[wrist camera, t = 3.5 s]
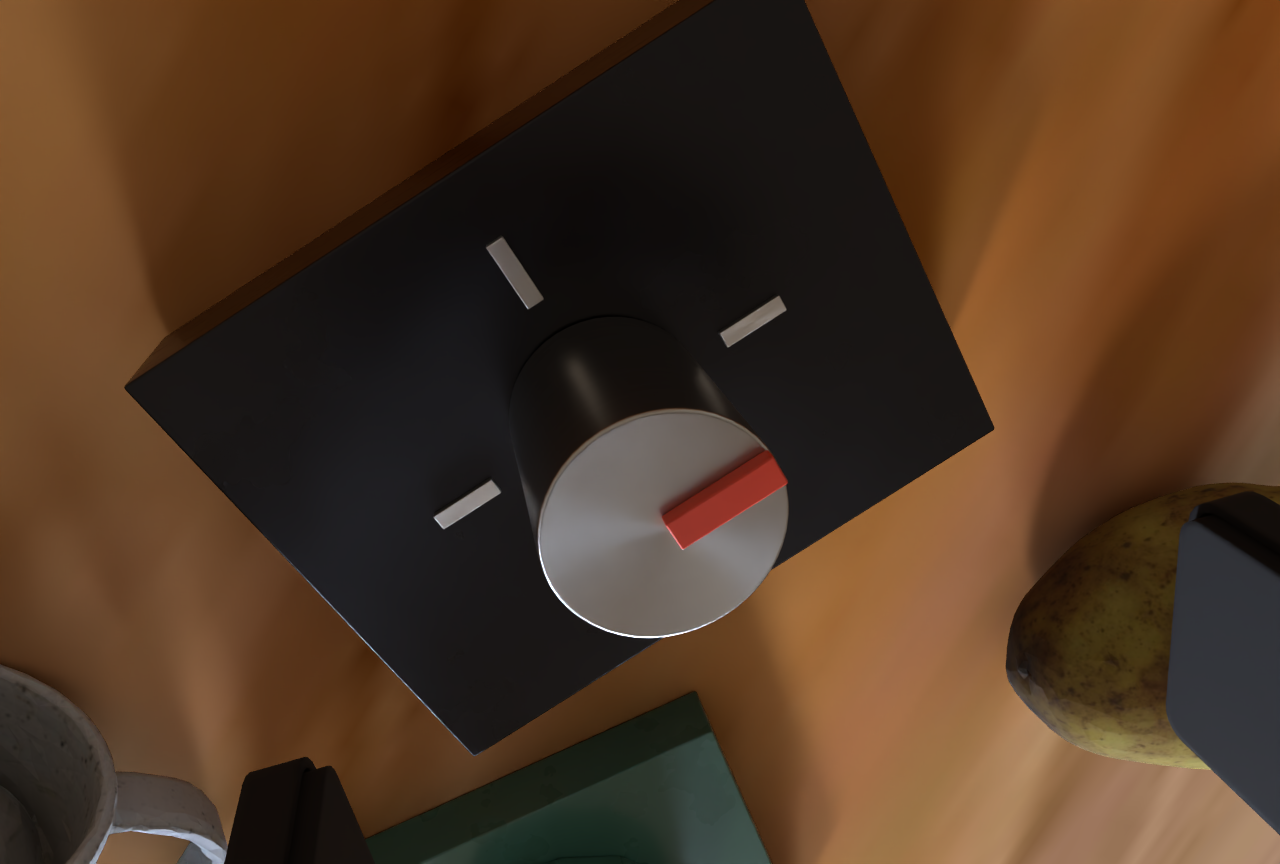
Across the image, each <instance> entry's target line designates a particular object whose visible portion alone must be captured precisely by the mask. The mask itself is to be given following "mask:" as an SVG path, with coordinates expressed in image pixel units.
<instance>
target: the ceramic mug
mask: <svg viewBox="0 0 1280 864" xmlns="http://www.w3.org/2000/svg"><path fill="white" fill-rule="evenodd" d="M126 831H137V832H144V833H150V834H157V835H167V836H173V837H178V838H182V839H186V840H189V841H191V842H190V843H189V845H188V846H187V848H186V850H185V851H184V853H183V854H182V856H181V857H180V859H179V861H178V862H177V864H224V861H225V857H226V853H227V848H228V846H227V842H226V839H225V836H224V832H223V829H222V826H221V822H220V819H219V815H218V812H217V809H216V807H215V805H214V804H213V803H212V802H211V801H210V800H209V798H208V797H207V796H206V795H205V794H204V793H203V791H202V790H200V789H198V788H196V787H195V786H193V785H192V784H191V783H189V782H187V781H183V780H180V779H177V778H172V777H166V776H160V775H152V774H145V773H138V772H115V768H114V764H113V759H112V756H111V753H110V751H109V749H108V746H107V744H106V742H105V740H104V738H103V737H102V735H101V734H100V732H99V730H98V729H97V727H96V726H95V725H94V723H93V722H92V720H91V719H90V718H89V717H88V716H87V715H86V714H85V713H84V712H83V711H82V710H81V709H80V708H79V707H77V706H76V705H75V704H74V703H72V702H71V701H70V700H69V699H68V698H66V697H65V696H64V695H63V694H61V693H60V692H59V691H58V690H56V689H54V688H52V687H50V686H48V685H46V684H44V683H42V682H40V681H38V680H37V679H35V678H33V677H31V676H29V675H27V674H25V673H22V672H20V671H17V670H14V669H12V668H9V667H6V666H3V665H0V864H96V862H97V860H98V858H99V855H100V853H101V851H102V849H103V847H104V845H105V843H106V840H107V837H108V835H110V834H114V833H120V832H126Z"/></svg>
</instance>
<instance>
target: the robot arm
mask: <svg viewBox="0 0 1280 864" xmlns="http://www.w3.org/2000/svg"><path fill="white" fill-rule="evenodd" d="M1166 713H1167V717H1168V720H1169V722H1170V725H1171V727H1172V729H1173V730H1174V732H1175V733H1176V735H1177V736H1178V737H1179V739H1180V740H1181V741H1182V742H1183V743H1184V744H1185V745H1186V746H1187V747H1188V748H1189V749H1190V750H1191V751H1193V752H1194V753H1195V754H1196V755H1197V756H1198V757H1199V758H1200V759H1201V760H1202V761H1203V762H1204V763H1205V764H1206V765H1207V766H1208V767H1209V768H1210V769H1211V770H1212V771H1213V772H1214V773H1215V774H1217V775H1218V776H1219V777H1220V778H1221V779H1222V780H1223V781H1224V782H1225V783H1226V784H1227V785H1228V786H1229V787H1230V788H1231V789H1232V790H1233V791H1234V792H1235V793H1236V794H1237V795H1238V796H1239V797H1241V798H1242V799H1243V800H1244V801H1245V802H1246V803H1247V804H1248V805H1249V806H1250V807H1251V808H1252V809H1253V810H1254V811H1255V812H1256V813H1257V814H1258V815H1259V816H1260V817H1261V818H1262V819H1263V820H1265V821H1266V822H1267V823H1268V824H1269V825H1270V826H1271V827H1272V828H1273V829H1274V830H1275V831H1276V832H1277V833H1278V834H1279V835H1280V505H1279V504H1278V503H1276V502H1274V501H1272V500H1271V499H1269V498H1267V497H1265V496H1264V495H1261V494H1259V493H1256V492H1253V491H1244V492H1241V493H1237V494H1234V495H1230V496H1227V497H1223V498H1220V499H1216V500H1212V501H1209V502H1205V503H1202V504H1200V505H1198V506H1196V507H1194V509H1193V510H1192V512H1191V513H1190V516H1189V520H1188V522H1186V523H1184V525H1183V526H1182V527H1181V530H1180V534H1179V546H1178V558H1177V571H1176V583H1175V595H1174V608H1173V620H1172V633H1171V645H1170V658H1169V670H1168V683H1167V695H1166ZM224 864H375V862H374V860H373V857H372V855H371V853H370V850H369V848H368V846H367V843H366V841H365V839H364V836H363V834H362V831H361V829H360V827H359V824H358V822H357V820H356V817H355V815H354V813H353V810H352V808H351V806H350V803H349V801H348V799H347V796H346V794H345V792H344V789H343V787H342V785H341V782H340V780H339V778H338V775H337V773H336V771H335V770H334V768H333V767H332V766H326V767H322V768H319V769H316V767H315V766H314V764H313V762H312V761H311V760H310V759H309V758H308V757H303V758H299V759H296V760H292V761H289V762H285V763H281V764H278V765H274V766H271V767H267V768H264V769H260V770H257V771H253V772H250V773H249V774H248V775H247V776H246V777H245V779H244V782H243V785H242V789H241V793H240V797H239V801H238V806H237V810H236V814H235V818H234V823H233V827H232V831H231V836H230V840H229V844H228V848H227V853H226V857H225V861H224Z"/></svg>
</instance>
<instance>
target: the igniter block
mask: <svg viewBox="0 0 1280 864" xmlns="http://www.w3.org/2000/svg"><path fill="white" fill-rule="evenodd" d="M365 841H366V843H367V846H368V848H369V850H370V853H371V855H372V857H373V860H374V862H375V864H773V863H772V861H771V859H770V857H769V854H768V852H767V850H766V848H765V845H764V843H763V841H762V839H761V836H760V834H759V832H758V830H757V827H756V825H755V823H754V821H753V818H752V816H751V814H750V812H749V809H748V807H747V805H746V803H745V800H744V798H743V796H742V794H741V791H740V789H739V787H738V785H737V782H736V780H735V778H734V776H733V773H732V771H731V769H730V767H729V764H728V762H727V760H726V758H725V755H724V753H723V751H722V749H721V746H720V744H719V742H718V740H717V737H716V735H715V733H714V731H713V728H712V726H711V724H710V722H709V719H708V717H707V715H706V713H705V710H704V708H703V706H702V704H701V701H700V699H699V697H698V695H697V693H696V692H692V693H690V694H688V695H685V696H683V697H681V698H679V699H676V700H674V701H672V702H670V703H668V704H665V705H663V706H661V707H659V708H656V709H654V710H652V711H650V712H648V713H645V714H643V715H641V716H639V717H636V718H634V719H632V720H630V721H628V722H625V723H623V724H621V725H619V726H616V727H614V728H612V729H610V730H608V731H605V732H603V733H601V734H599V735H596V736H594V737H592V738H590V739H588V740H585V741H583V742H581V743H579V744H576V745H574V746H572V747H570V748H568V749H565V750H563V751H561V752H559V753H556V754H554V755H552V756H550V757H548V758H545V759H543V760H541V761H539V762H536V763H534V764H532V765H530V766H528V767H525V768H523V769H521V770H519V771H516V772H514V773H512V774H510V775H508V776H505V777H503V778H501V779H499V780H496V781H494V782H492V783H490V784H488V785H485V786H483V787H481V788H479V789H476V790H474V791H472V792H470V793H468V794H465V795H463V796H461V797H459V798H456V799H454V800H452V801H450V802H448V803H445V804H443V805H441V806H439V807H436V808H434V809H432V810H430V811H428V812H425V813H423V814H421V815H419V816H416V817H414V818H412V819H410V820H408V821H405V822H403V823H401V824H399V825H396V826H394V827H392V828H390V829H388V830H385V831H383V832H381V833H379V834H376V835H374V836H372V837H370V838H368V839H365Z"/></svg>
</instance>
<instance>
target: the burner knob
mask: <svg viewBox="0 0 1280 864" xmlns="http://www.w3.org/2000/svg"><path fill="white" fill-rule="evenodd" d="M509 425H510V432H511V437H512V442H513V446H514V451H515V455H516V460H517V464H518V468H519V473H520V477H521V482H522V486H523V491H524V495H525V499H526V504H527V508H528V513H529V517H530V522H531V526H532V531H533V535H534V539H535V544H536V548H537V553H538V557H539V561H540V564H541V567H542V571H543V573H544V575H545V577H546V580H547V582H548V584H549V586H550V587H551V589H552V590H553V591H554V593H555V594H556V596H557V597H558V598H559V599H560V601H561V602H562V603H563V604H564V605H565V606H566V607H567V608H568V609H569V610H571V611H572V612H573V613H574V614H576V615H577V616H578V617H580V618H581V619H583V620H584V621H586V622H588V623H589V624H591V625H593V626H595V627H598V628H600V629H602V630H605V631H608V632H611V633H615V634H618V635H623V636H629V637H636V638H658V637H668V636H673V635H679V634H683V633H686V632H690V631H693V630H696V629H699V628H701V627H703V626H706V625H708V624H710V623H713V622H714V621H716V620H718V619H720V618H722V617H723V616H725V615H727V614H728V613H729V612H731V611H732V610H734V609H735V608H737V607H738V606H739V605H740V604H741V603H743V602H744V601H745V600H746V599H747V598H748V597H749V596H750V595H751V594H752V593H753V592H754V591H755V590H756V589H757V588H758V587H759V586H760V584H761V583H762V582H763V580H764V579H765V578H766V576H767V575H768V573H769V572H770V570H771V569H772V567H773V565H774V563H775V561H776V560H777V558H778V555H779V553H780V550H781V548H782V545H783V542H784V538H785V535H786V531H787V524H788V516H789V501H788V493H787V487H786V484H787V483H788V480H787V479H786V477H785V475H784V473H783V472H782V470H781V468H780V466H779V464H778V462H777V460H776V458H775V457H774V455H773V454H772V453H771V451H770V450H769V448H768V447H767V446H766V444H765V443H764V442H763V441H762V440H761V438H760V437H759V436H758V435H757V434H756V432H755V431H754V430H753V429H752V428H751V426H750V425H749V424H748V423H747V422H746V420H745V419H744V418H743V417H742V415H741V414H740V413H739V412H738V411H737V409H736V408H735V407H734V406H733V405H732V403H731V402H730V401H729V400H728V399H727V397H726V396H725V395H724V394H723V393H722V391H721V390H720V389H719V388H718V387H717V385H716V384H715V383H714V382H713V381H712V379H711V378H710V377H709V376H708V375H707V373H706V372H705V371H704V370H703V369H702V367H701V366H700V365H699V364H698V363H697V361H696V360H695V359H694V358H693V357H692V355H691V354H690V353H689V352H688V351H687V349H686V348H685V347H684V346H683V345H682V344H681V343H680V342H679V341H678V340H677V339H676V338H674V337H673V336H672V335H671V334H669V333H668V332H666V331H664V330H663V329H661V328H659V327H657V326H655V325H653V324H650V323H648V322H645V321H641V320H638V319H634V318H626V317H602V318H594V319H590V320H586V321H583V322H579V323H577V324H575V325H572V326H570V327H567V328H566V329H564V330H562V331H560V332H558V333H557V334H555V335H554V336H552V337H551V338H550V339H548V340H547V341H546V342H544V343H543V344H542V345H541V346H540V347H539V348H538V349H537V350H536V351H535V352H534V353H533V355H532V356H531V357H530V358H529V360H528V361H527V362H526V364H525V365H524V367H523V369H522V370H521V372H520V374H519V376H518V378H517V380H516V383H515V385H514V388H513V392H512V395H511V400H510V407H509Z"/></svg>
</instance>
